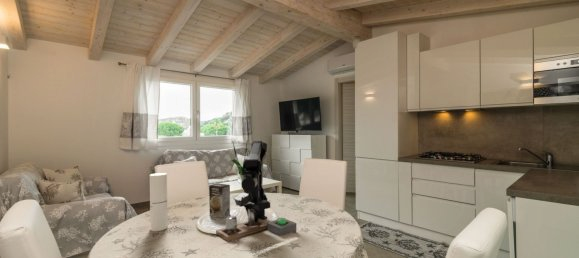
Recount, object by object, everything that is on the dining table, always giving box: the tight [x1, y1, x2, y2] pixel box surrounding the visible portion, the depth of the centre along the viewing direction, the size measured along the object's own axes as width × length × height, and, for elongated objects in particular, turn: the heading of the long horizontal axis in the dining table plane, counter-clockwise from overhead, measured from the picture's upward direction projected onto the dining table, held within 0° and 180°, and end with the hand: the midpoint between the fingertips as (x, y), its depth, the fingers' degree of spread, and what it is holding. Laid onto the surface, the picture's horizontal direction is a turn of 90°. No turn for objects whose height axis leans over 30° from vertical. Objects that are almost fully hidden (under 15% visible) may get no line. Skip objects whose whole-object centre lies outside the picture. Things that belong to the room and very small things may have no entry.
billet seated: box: [225, 215, 238, 235], centre depth 113 cm, size 4×4×7 cm
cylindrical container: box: [149, 172, 169, 232], centre depth 123 cm, size 7×7×25 cm
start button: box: [276, 217, 287, 226], centre depth 117 cm, size 4×4×2 cm
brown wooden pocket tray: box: [215, 220, 267, 242], centre depth 116 cm, size 10×20×2 cm, turn 132°
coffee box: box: [208, 182, 231, 219], centre depth 141 cm, size 9×6×16 cm
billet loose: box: [247, 207, 258, 226], centre depth 120 cm, size 4×4×7 cm
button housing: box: [266, 218, 297, 237], centre depth 117 cm, size 9×9×4 cm
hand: (253, 220), depth 120 cm, fingers closed on billet loose, 4 cm apart
